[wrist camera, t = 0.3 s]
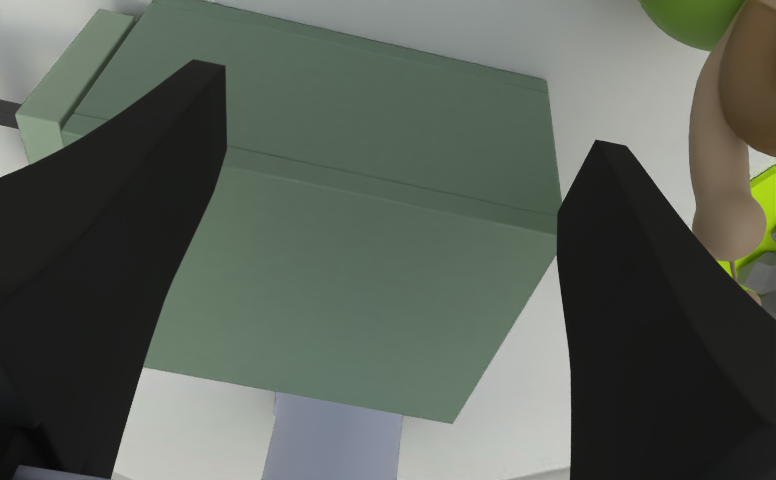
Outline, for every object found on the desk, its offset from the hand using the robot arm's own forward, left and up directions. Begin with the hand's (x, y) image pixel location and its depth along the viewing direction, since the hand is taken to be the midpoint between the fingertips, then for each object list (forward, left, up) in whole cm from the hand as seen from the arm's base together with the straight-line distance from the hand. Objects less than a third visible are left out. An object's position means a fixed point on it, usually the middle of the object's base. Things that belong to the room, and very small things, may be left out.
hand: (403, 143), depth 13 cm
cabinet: (-10, +2, -10) cm, 14 cm away
